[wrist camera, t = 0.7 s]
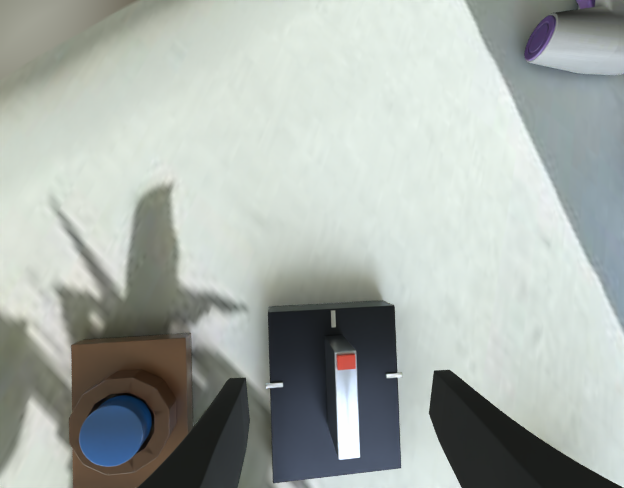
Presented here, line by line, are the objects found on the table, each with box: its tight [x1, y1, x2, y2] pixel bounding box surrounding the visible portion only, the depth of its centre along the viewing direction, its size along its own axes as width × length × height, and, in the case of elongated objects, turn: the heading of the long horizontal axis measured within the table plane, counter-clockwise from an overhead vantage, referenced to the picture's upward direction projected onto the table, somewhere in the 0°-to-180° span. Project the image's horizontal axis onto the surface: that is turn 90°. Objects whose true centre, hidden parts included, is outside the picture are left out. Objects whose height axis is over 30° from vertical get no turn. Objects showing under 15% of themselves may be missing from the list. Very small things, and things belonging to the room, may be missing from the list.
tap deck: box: [266, 301, 402, 483], centre depth 28 cm, size 14×12×3 cm
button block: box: [69, 333, 193, 488], centre depth 26 cm, size 12×9×4 cm
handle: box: [325, 335, 360, 460], centre depth 24 cm, size 8×2×5 cm, turn 2°
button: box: [79, 395, 152, 467], centre depth 24 cm, size 4×4×2 cm
